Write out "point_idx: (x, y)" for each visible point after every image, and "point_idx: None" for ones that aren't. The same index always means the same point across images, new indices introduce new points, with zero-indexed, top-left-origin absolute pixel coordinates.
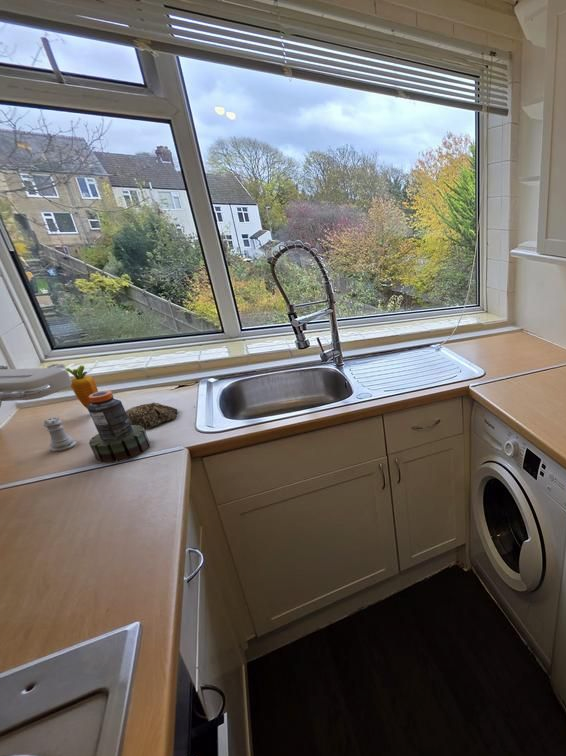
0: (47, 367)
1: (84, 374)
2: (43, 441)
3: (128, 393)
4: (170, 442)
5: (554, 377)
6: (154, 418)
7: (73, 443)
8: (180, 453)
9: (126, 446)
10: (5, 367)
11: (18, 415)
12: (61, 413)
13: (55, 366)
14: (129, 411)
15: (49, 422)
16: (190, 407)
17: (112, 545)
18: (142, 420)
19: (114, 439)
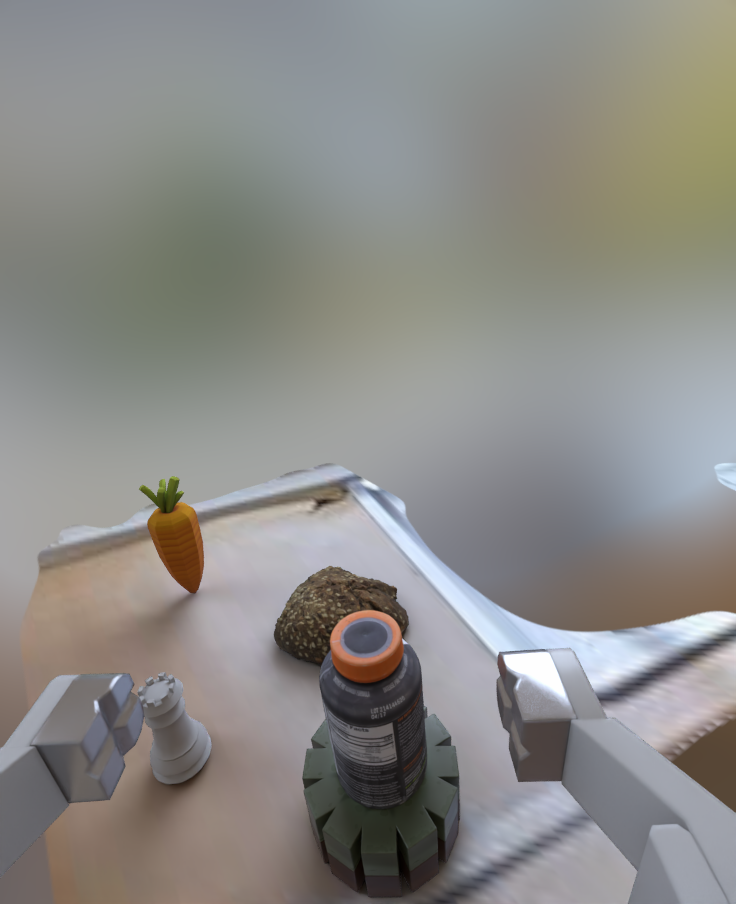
0: (522, 725)
1: (178, 499)
2: None
3: (227, 524)
4: (500, 754)
5: None
6: None
7: (207, 745)
8: (610, 845)
9: (442, 832)
10: (121, 692)
11: (33, 595)
12: (119, 590)
13: (609, 718)
14: (309, 610)
15: (154, 700)
16: (405, 573)
17: None
18: None
19: (399, 804)
